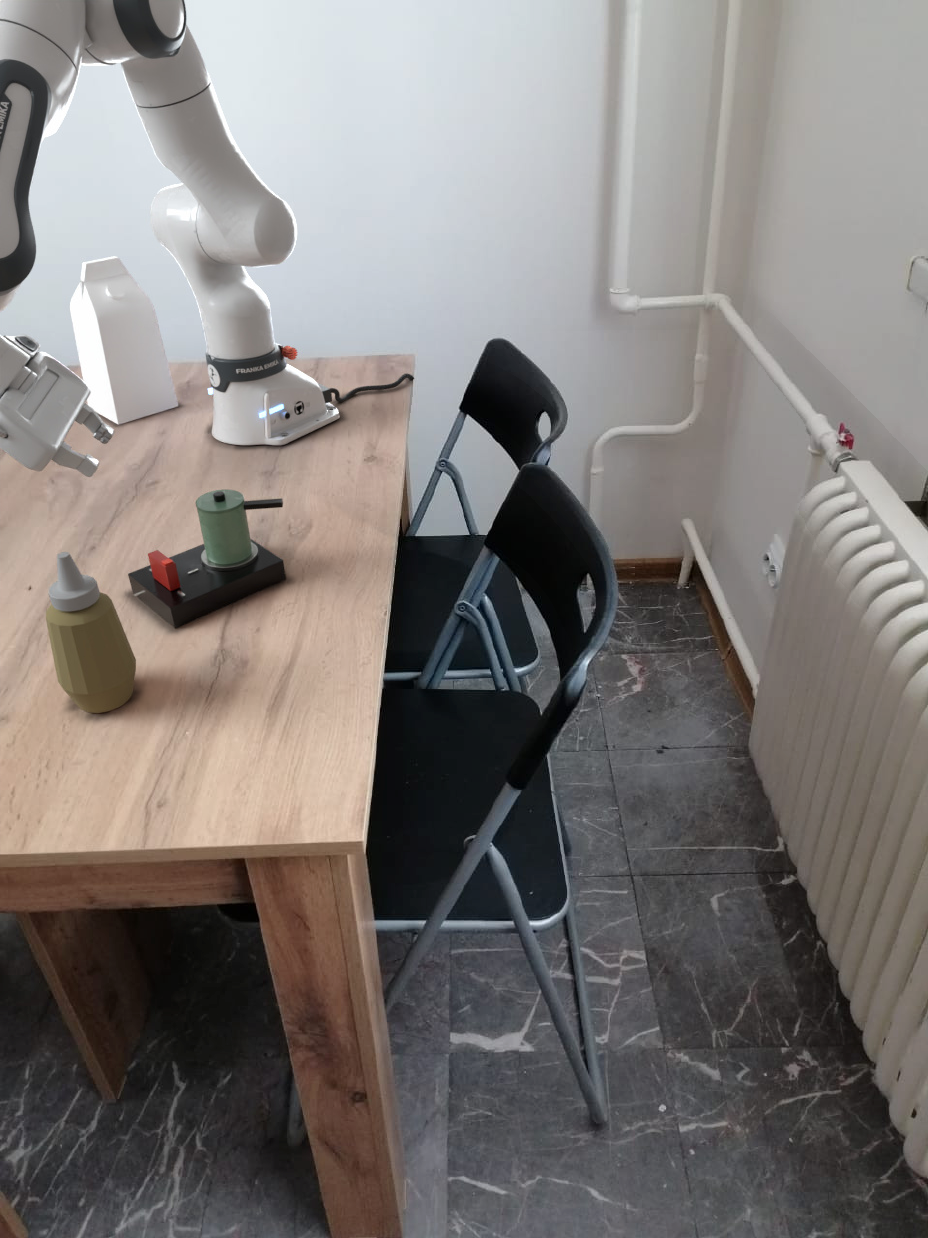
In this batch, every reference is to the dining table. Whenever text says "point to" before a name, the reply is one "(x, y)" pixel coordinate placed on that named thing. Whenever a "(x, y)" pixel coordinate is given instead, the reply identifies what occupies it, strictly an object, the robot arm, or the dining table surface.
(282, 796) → the dining table surface
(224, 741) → the dining table surface
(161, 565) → the knob
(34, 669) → the dining table surface
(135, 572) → the hob
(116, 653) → the squeeze bottle
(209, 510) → the saucepan
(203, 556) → the burner
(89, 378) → the milk
